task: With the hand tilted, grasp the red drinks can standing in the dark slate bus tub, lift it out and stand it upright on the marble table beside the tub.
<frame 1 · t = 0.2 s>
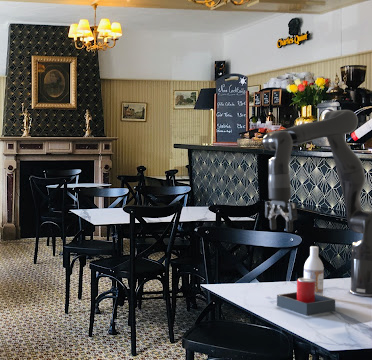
hand: (281, 230, 216), 28 cm above the table, tool pointing down, fingers open, 8 cm apart
tub: (305, 310, 213), on the table
can: (305, 308, 213), point 1 cm above the table, touching tub
bath foam: (313, 298, 231), on the table
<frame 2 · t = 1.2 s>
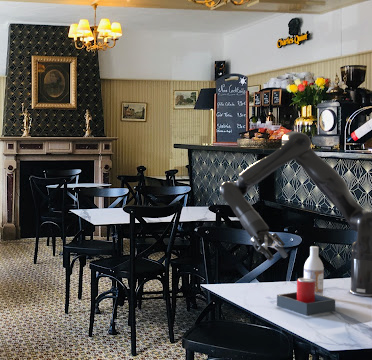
hand: (279, 258, 221), 17 cm above the table, tool tilted 45°, fingers open, 8 cm apart
nothing on the table moved.
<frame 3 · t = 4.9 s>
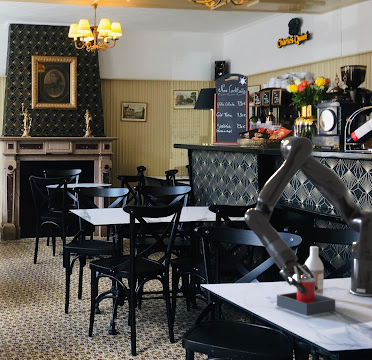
hand: (310, 291, 211), 7 cm above the table, tool tilted 45°, fingers closed on can, 6 cm apart
can: (305, 308, 213), point 1 cm above the table, touching gripper, tub
everything else where it was.
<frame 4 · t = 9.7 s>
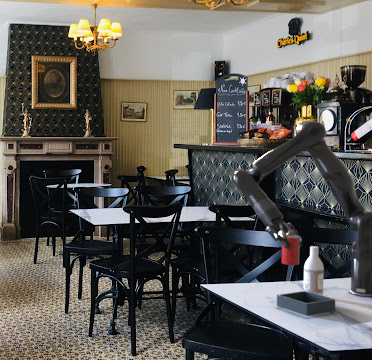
hand: (294, 247, 220), 22 cm above the table, tool tilted 45°, fingers closed on can, 6 cm apart
can: (290, 263, 222), point 15 cm above the table, touching gripper
everything else where it was.
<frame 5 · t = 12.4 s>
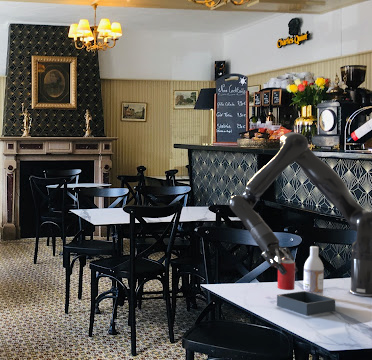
hand: (290, 272, 223), 12 cm above the table, tool tilted 45°, fingers closed on can, 6 cm apart
can: (285, 288, 225), point 5 cm above the table, touching gripper
everything else where it was.
when the fingers open (6 cm above the table, at t = 14.4 s): can stays where it is, on the table.
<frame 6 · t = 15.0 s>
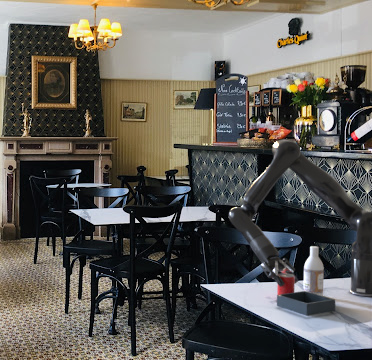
hand: (289, 283, 223), 7 cm above the table, tool tilted 45°, fingers open, 8 cm apart
can: (285, 301, 225), on the table
everything else where it was.
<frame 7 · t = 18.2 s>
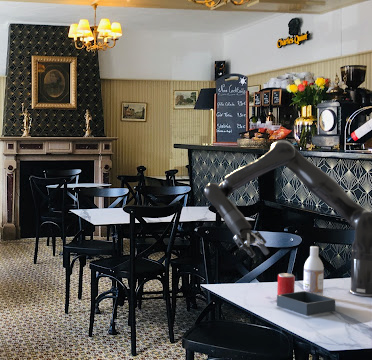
hand: (260, 255, 234), 16 cm above the table, tool tilted 45°, fingers open, 8 cm apart
nothing on the table moved.
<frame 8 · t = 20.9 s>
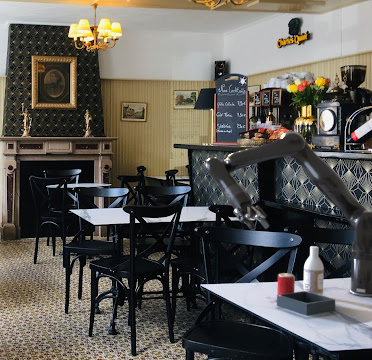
hand: (261, 228, 233), 27 cm above the table, tool tilted 45°, fingers open, 8 cm apart
nothing on the table moved.
at the end: can inside the target area (0.9 cm from its centre), on the table; can tilted 0°; the gripper is holding nothing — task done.
